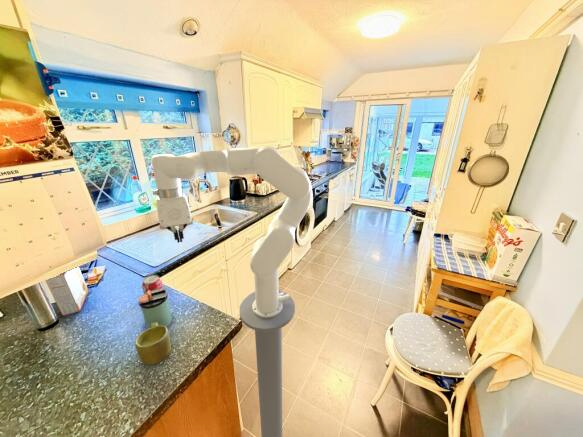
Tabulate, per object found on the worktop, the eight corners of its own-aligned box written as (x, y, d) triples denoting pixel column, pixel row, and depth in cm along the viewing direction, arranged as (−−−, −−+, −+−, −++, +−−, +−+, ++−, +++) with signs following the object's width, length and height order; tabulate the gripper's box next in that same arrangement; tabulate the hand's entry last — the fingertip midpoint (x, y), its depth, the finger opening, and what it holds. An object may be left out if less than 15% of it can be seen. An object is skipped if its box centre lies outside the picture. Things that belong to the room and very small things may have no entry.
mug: (172, 361, 73) (157, 335, 71) (140, 376, 72) (123, 350, 69) (183, 335, 85) (170, 312, 82) (155, 347, 84) (141, 325, 81)
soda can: (144, 303, 99) (137, 280, 94) (160, 294, 104) (155, 272, 100) (152, 310, 95) (146, 286, 91) (169, 301, 101) (164, 277, 96)
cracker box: (72, 295, 103) (55, 254, 96) (89, 291, 106) (74, 250, 98) (60, 317, 92) (40, 271, 84) (80, 312, 94) (61, 267, 87)
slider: (151, 294, 86) (150, 289, 85) (151, 300, 83) (149, 295, 83) (140, 297, 85) (139, 292, 84) (140, 303, 82) (138, 298, 81)
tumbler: (172, 310, 95) (166, 285, 91) (173, 326, 88) (167, 299, 83) (146, 318, 91) (138, 292, 87) (145, 336, 84) (137, 308, 79)
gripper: (144, 198, 73) (156, 250, 79) (195, 192, 79) (202, 240, 86) (145, 192, 79) (156, 241, 86) (192, 187, 85) (199, 233, 92)
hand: (179, 240), depth 86 cm, fingers closed
